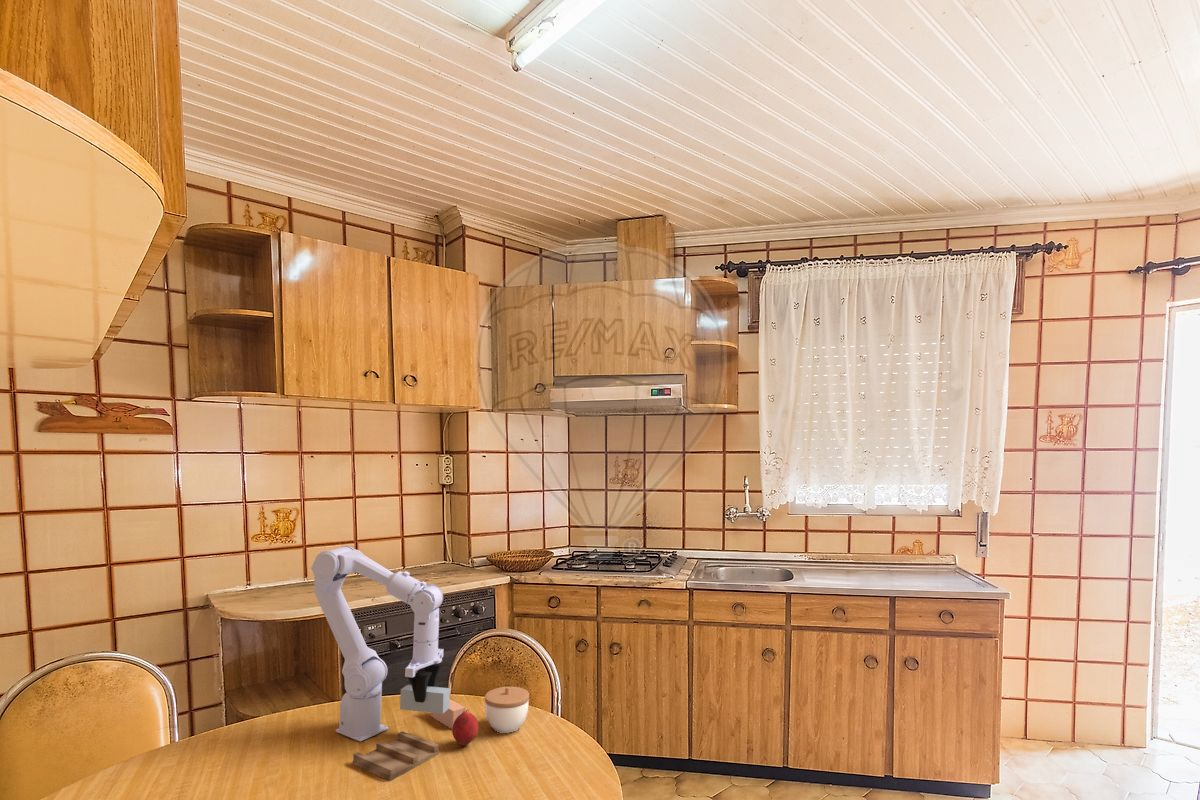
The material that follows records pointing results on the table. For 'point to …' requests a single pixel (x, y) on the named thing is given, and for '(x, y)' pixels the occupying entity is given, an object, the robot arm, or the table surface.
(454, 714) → the salmon pink block
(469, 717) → the onion
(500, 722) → the lidded jar
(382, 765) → the walnut rack
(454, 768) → the table surface
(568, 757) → the table surface
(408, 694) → the grey-blue block
